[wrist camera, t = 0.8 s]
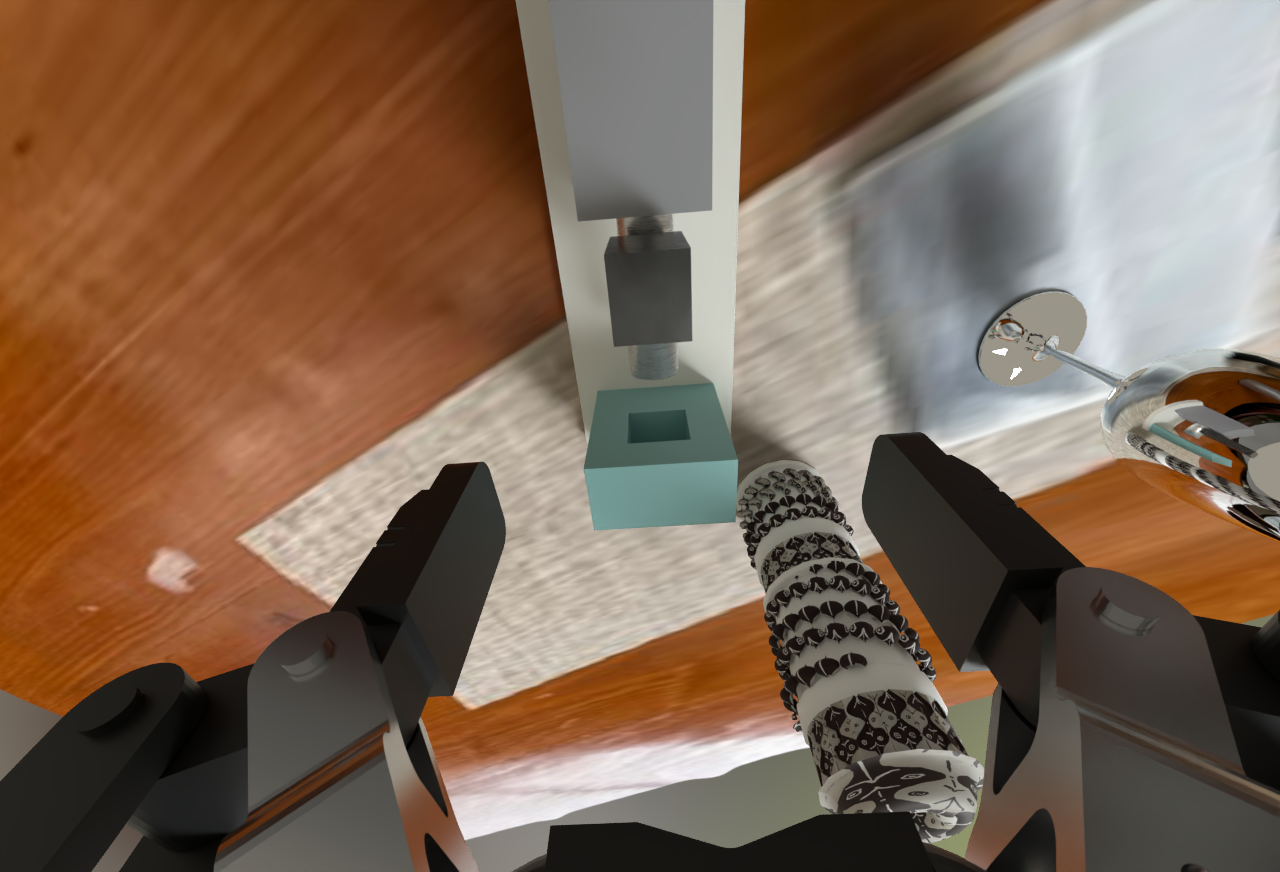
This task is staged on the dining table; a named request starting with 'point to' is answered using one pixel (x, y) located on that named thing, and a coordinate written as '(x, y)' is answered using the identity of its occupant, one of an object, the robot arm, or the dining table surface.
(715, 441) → the socket
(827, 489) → the decorative candle
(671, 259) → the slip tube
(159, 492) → the dining table surface
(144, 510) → the dining table surface
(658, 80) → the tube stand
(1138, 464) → the wineglass
